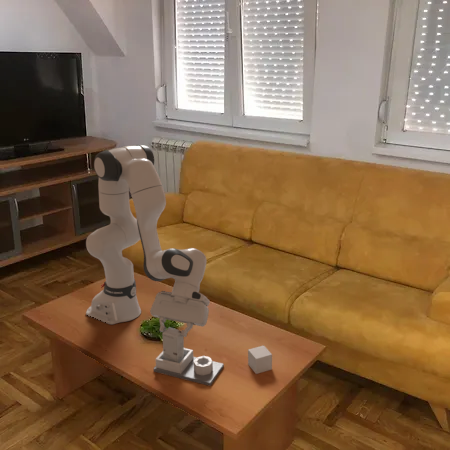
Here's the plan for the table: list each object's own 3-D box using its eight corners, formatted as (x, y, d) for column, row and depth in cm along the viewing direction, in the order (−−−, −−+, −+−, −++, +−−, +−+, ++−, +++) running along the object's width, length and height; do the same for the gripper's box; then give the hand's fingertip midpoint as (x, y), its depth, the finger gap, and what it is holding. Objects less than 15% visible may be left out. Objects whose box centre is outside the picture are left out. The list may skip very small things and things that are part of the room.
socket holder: (153, 371, 173) (152, 360, 171) (169, 353, 182) (168, 342, 181) (210, 385, 165) (209, 374, 164) (223, 366, 175) (223, 355, 173)
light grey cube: (256, 374, 171) (255, 358, 168) (248, 364, 176) (247, 349, 174) (272, 369, 173) (272, 354, 171) (263, 360, 178) (263, 345, 176)
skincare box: (163, 363, 175) (160, 332, 171) (170, 356, 179) (168, 326, 174) (177, 368, 172) (176, 337, 168) (185, 361, 176) (183, 331, 171)
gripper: (154, 286, 177) (141, 325, 172) (208, 296, 169) (196, 337, 164) (161, 292, 182) (149, 330, 177) (214, 302, 175) (203, 342, 169)
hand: (172, 333), depth 171 cm, fingers open, 7 cm apart
